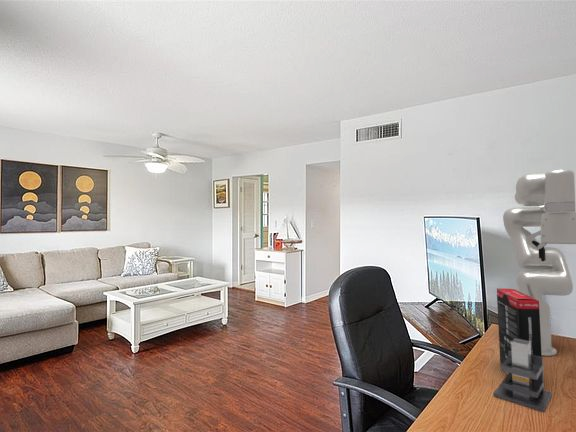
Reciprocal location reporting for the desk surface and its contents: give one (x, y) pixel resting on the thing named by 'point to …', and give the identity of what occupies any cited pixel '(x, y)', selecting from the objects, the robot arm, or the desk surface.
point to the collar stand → (537, 393)
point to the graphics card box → (518, 321)
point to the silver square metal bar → (521, 362)
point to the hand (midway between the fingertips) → (562, 261)
